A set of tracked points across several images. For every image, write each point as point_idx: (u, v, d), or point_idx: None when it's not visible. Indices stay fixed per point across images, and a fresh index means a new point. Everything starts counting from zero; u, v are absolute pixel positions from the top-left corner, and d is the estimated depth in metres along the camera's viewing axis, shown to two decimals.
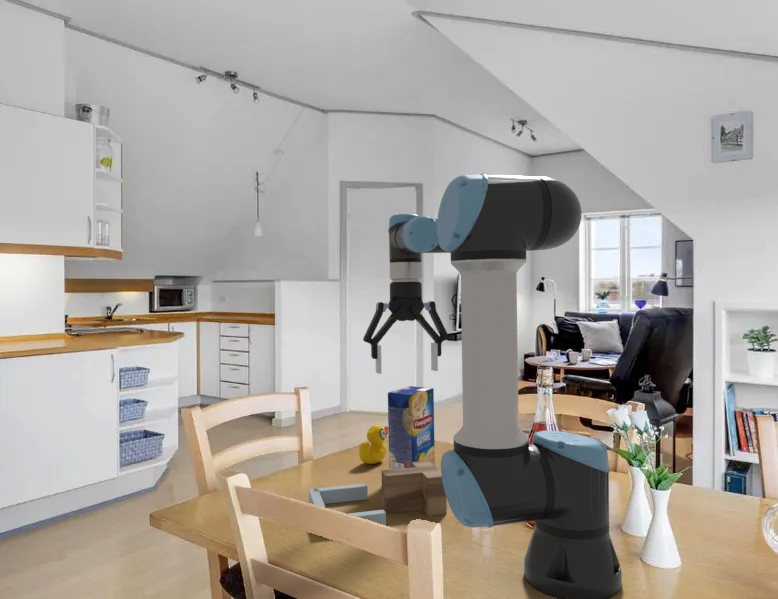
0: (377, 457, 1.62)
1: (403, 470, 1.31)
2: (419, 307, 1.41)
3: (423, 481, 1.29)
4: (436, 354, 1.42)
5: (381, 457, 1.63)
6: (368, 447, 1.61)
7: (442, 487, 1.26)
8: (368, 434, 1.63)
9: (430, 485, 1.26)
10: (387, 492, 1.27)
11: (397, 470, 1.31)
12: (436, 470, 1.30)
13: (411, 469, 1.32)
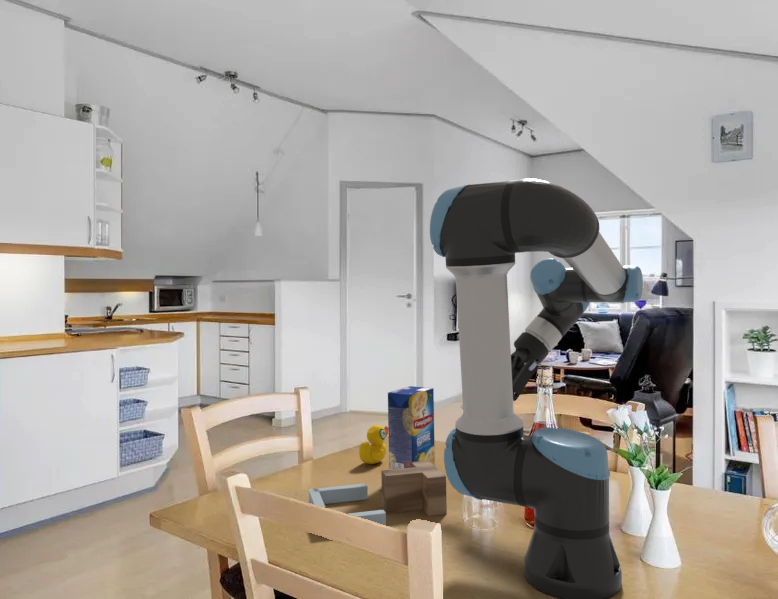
0: (377, 457, 1.62)
1: (403, 470, 1.31)
2: (522, 359, 1.34)
3: (423, 481, 1.29)
4: None
5: (381, 457, 1.63)
6: (368, 447, 1.61)
7: (442, 487, 1.26)
8: (368, 434, 1.63)
9: (430, 485, 1.26)
10: (387, 492, 1.27)
11: (397, 470, 1.31)
12: (436, 470, 1.30)
13: (411, 469, 1.32)
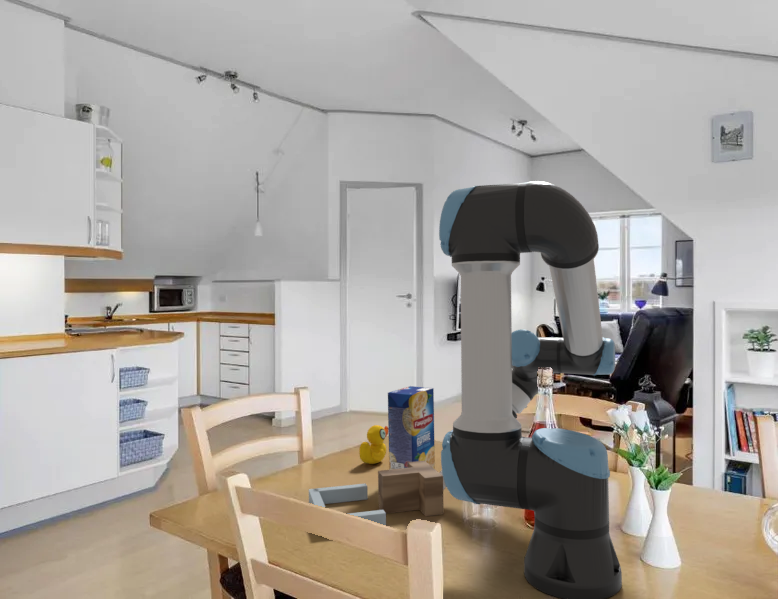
0: (377, 457, 1.62)
1: (400, 470, 1.31)
2: None
3: (419, 481, 1.29)
4: None
5: (381, 457, 1.63)
6: (368, 447, 1.61)
7: (439, 487, 1.26)
8: (368, 434, 1.63)
9: (427, 485, 1.25)
10: (384, 492, 1.27)
11: (394, 470, 1.31)
12: (433, 470, 1.30)
13: (408, 469, 1.31)
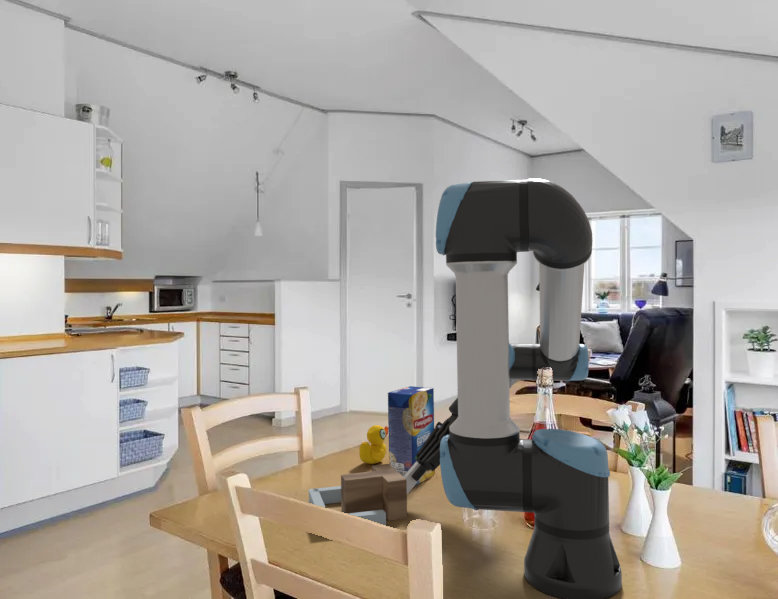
0: (377, 457, 1.62)
1: (363, 474, 1.28)
2: None
3: (383, 485, 1.27)
4: (410, 472, 1.31)
5: (381, 457, 1.63)
6: (368, 447, 1.61)
7: (402, 491, 1.24)
8: (368, 434, 1.63)
9: (390, 489, 1.24)
10: (346, 497, 1.25)
11: (357, 474, 1.29)
12: (396, 473, 1.29)
13: (371, 473, 1.29)
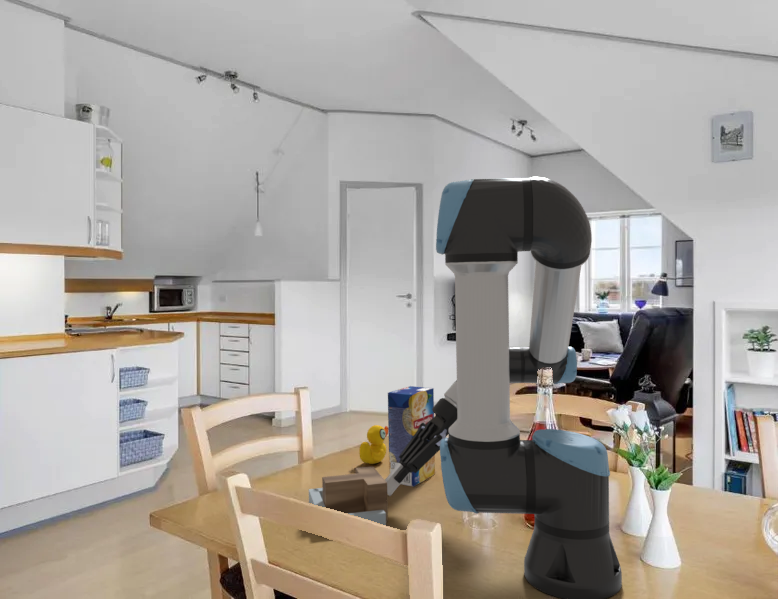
0: (377, 457, 1.62)
1: (345, 477, 1.27)
2: (438, 428, 1.30)
3: (364, 488, 1.25)
4: (392, 473, 1.30)
5: (381, 457, 1.63)
6: (368, 447, 1.61)
7: (383, 494, 1.23)
8: (368, 434, 1.63)
9: (370, 492, 1.22)
10: (327, 499, 1.24)
11: (338, 476, 1.27)
12: (378, 476, 1.27)
13: (353, 475, 1.28)
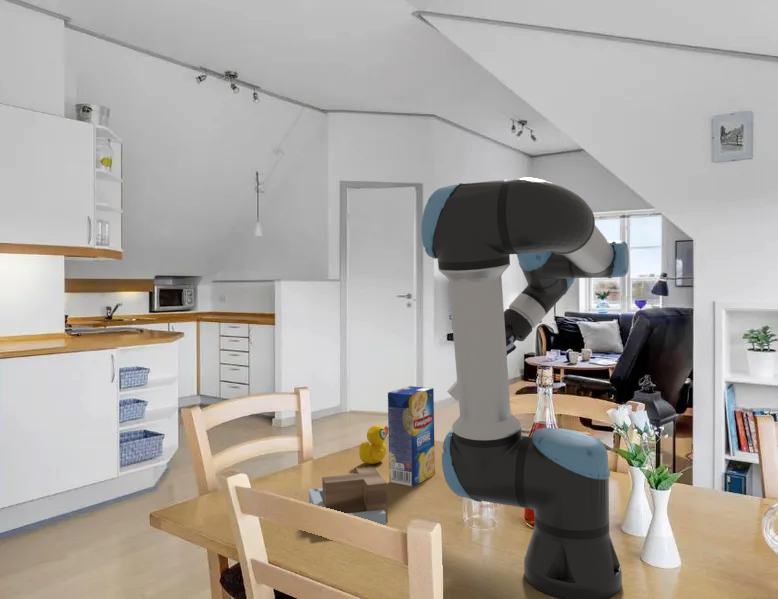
0: (377, 457, 1.62)
1: (344, 477, 1.27)
2: (505, 335, 1.33)
3: (364, 488, 1.25)
4: None
5: (381, 457, 1.63)
6: (368, 447, 1.61)
7: (383, 494, 1.23)
8: (368, 434, 1.63)
9: (370, 492, 1.22)
10: (326, 500, 1.24)
11: (338, 477, 1.27)
12: (378, 476, 1.27)
13: (353, 476, 1.28)
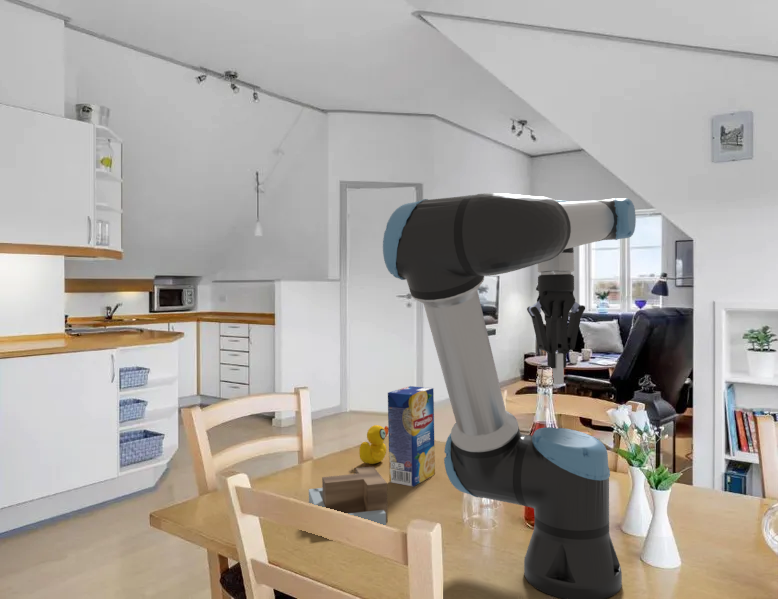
0: (377, 457, 1.62)
1: (344, 477, 1.27)
2: (570, 301, 1.30)
3: (364, 488, 1.25)
4: (562, 365, 1.29)
5: (381, 457, 1.63)
6: (368, 447, 1.61)
7: (383, 494, 1.23)
8: (368, 434, 1.63)
9: (370, 492, 1.22)
10: (326, 500, 1.24)
11: (338, 477, 1.27)
12: (378, 476, 1.27)
13: (353, 476, 1.28)
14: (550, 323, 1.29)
